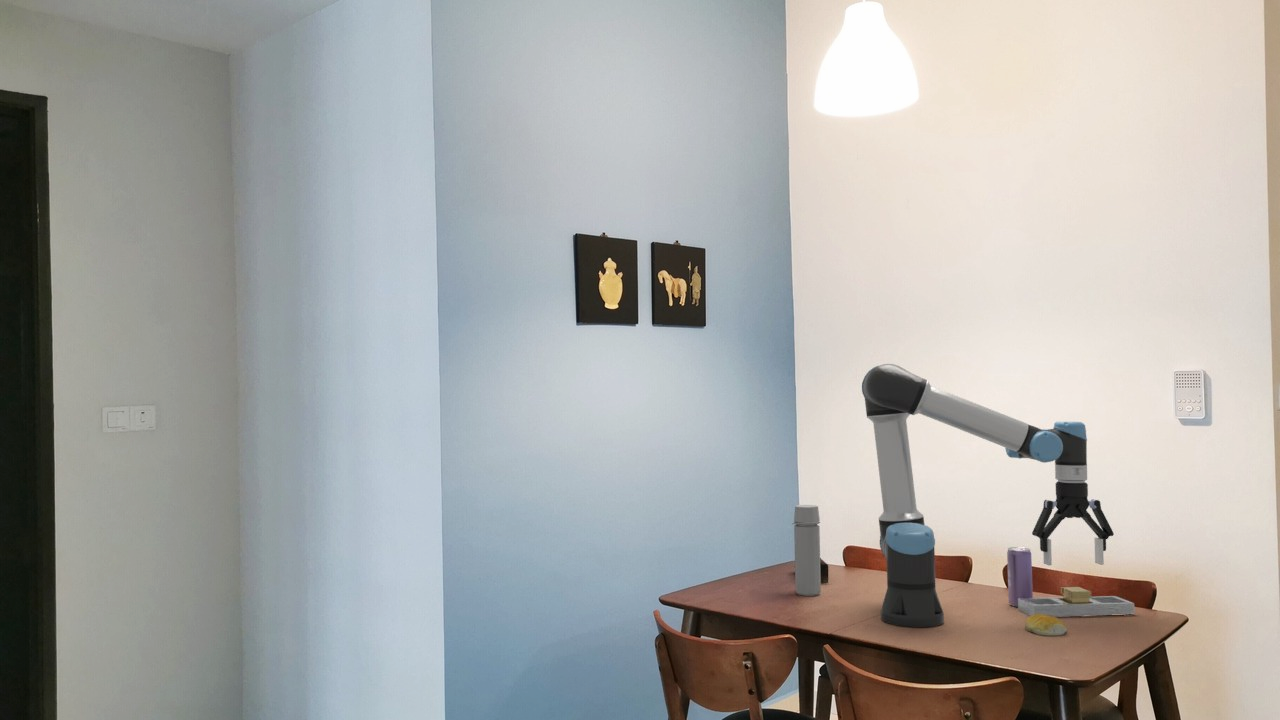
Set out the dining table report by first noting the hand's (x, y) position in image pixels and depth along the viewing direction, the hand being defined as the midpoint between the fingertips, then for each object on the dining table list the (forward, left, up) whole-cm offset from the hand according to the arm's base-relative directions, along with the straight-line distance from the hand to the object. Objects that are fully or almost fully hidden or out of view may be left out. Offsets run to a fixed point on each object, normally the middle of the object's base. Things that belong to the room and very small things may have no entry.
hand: (1073, 564), depth 233 cm
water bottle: (-63, +30, -13) cm, 71 cm away
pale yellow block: (0, 0, -12) cm, 12 cm away
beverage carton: (-56, +52, -13) cm, 78 cm away
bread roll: (-16, -17, -13) cm, 27 cm away
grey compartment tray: (0, 0, -12) cm, 12 cm away
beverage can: (-10, +9, -13) cm, 18 cm away
